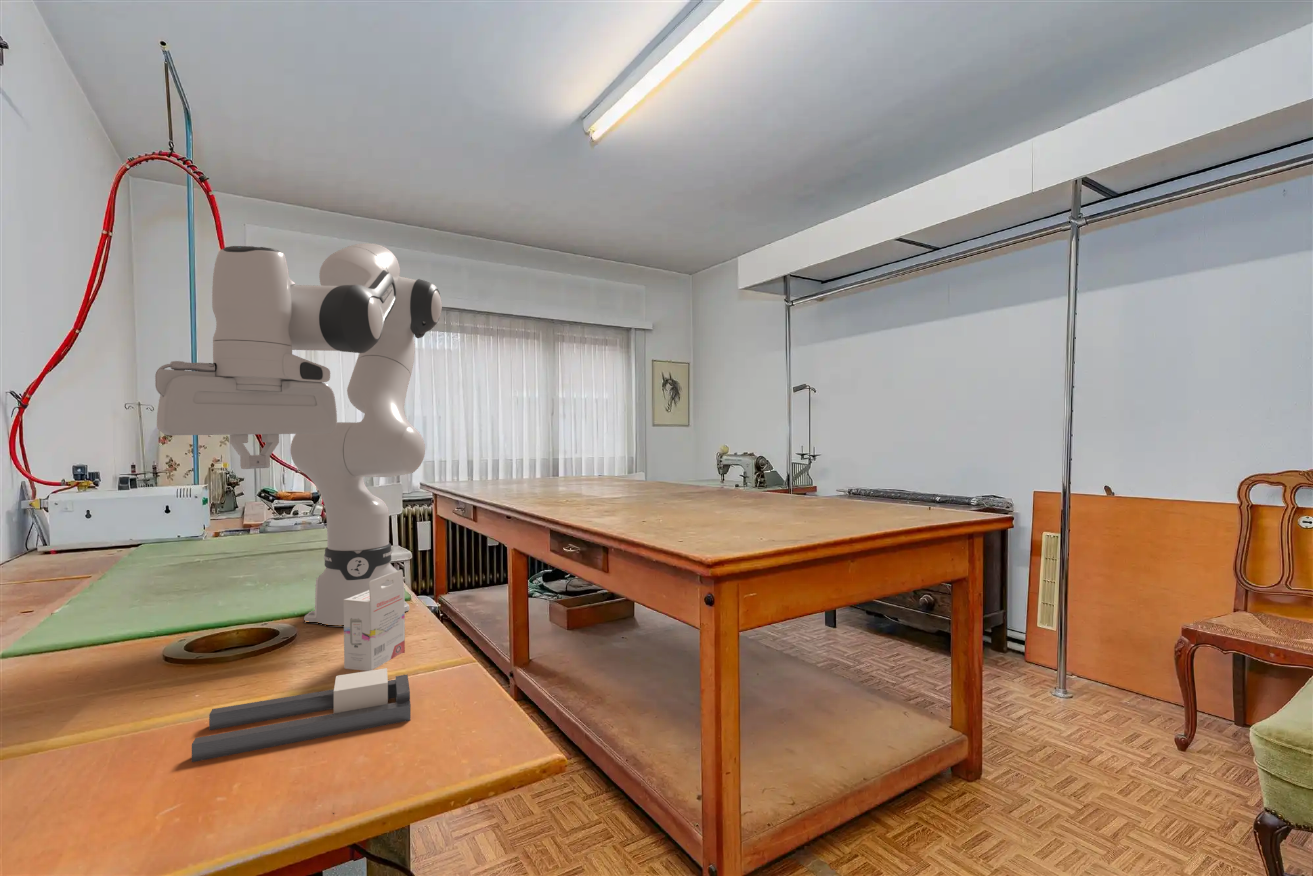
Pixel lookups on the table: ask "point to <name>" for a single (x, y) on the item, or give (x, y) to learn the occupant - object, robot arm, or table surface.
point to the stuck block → (360, 690)
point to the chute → (296, 721)
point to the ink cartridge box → (375, 624)
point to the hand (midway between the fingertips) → (255, 468)
